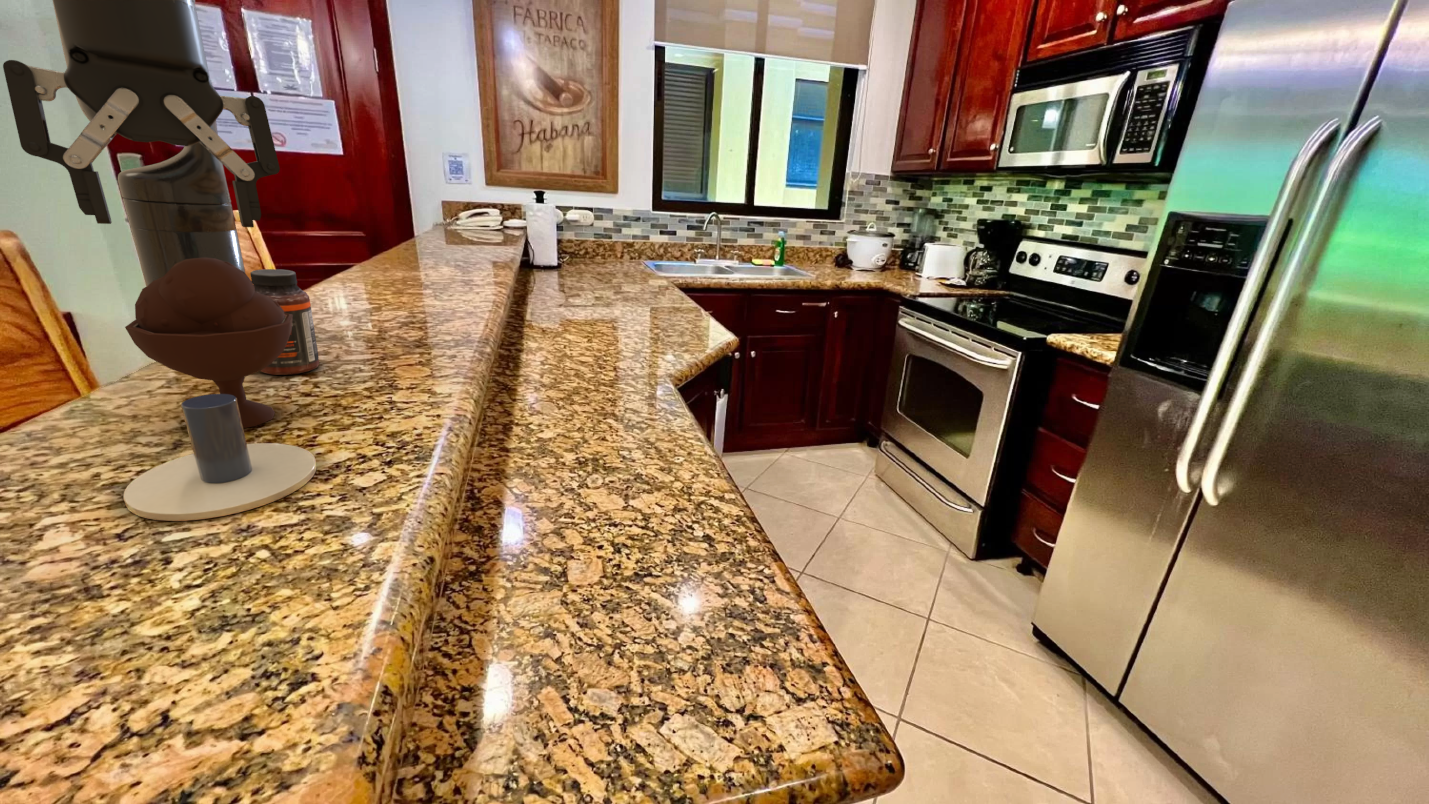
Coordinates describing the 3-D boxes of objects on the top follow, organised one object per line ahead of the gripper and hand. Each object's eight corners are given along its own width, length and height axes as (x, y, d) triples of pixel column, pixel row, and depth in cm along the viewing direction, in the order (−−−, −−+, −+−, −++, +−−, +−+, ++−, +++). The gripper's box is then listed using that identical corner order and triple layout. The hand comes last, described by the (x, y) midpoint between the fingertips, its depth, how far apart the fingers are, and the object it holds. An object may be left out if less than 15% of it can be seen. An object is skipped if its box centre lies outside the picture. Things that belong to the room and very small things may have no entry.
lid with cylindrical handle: (127, 470, 42) (101, 389, 40) (303, 438, 49) (290, 368, 47) (123, 540, 35) (91, 446, 32) (330, 491, 42) (316, 411, 40)
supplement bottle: (250, 377, 61) (228, 275, 57) (265, 361, 66) (246, 266, 62) (315, 375, 63) (298, 276, 59) (325, 360, 68) (310, 268, 64)
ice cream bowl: (335, 405, 57) (312, 256, 51) (237, 451, 46) (194, 270, 41) (239, 392, 57) (205, 243, 52) (120, 435, 47) (63, 254, 41)
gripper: (246, 26, 47) (281, 225, 52) (-24, -32, 37) (53, 218, 43) (257, 10, 42) (295, 231, 47) (-51, -62, 32) (40, 225, 38)
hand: (180, 225), depth 45 cm, fingers open, 8 cm apart
